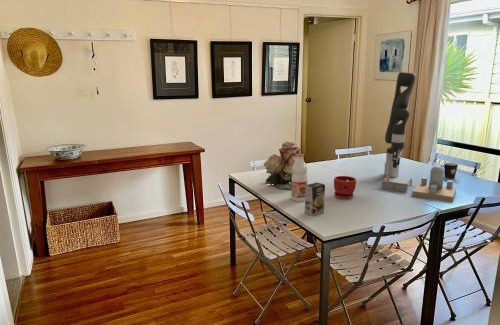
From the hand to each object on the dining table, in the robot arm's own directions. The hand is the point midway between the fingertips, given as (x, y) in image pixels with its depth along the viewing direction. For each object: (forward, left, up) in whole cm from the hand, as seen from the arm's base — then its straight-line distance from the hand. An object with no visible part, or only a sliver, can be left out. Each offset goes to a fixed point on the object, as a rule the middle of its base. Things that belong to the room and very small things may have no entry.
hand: (396, 166), depth 233 cm
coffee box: (-28, -63, -16) cm, 71 cm away
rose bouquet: (-65, -23, -16) cm, 71 cm away
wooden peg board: (+23, +4, -16) cm, 28 cm away
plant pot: (-23, -29, -16) cm, 40 cm away
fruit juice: (-45, -47, -16) cm, 67 cm away
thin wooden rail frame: (0, +8, -16) cm, 18 cm away
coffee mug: (+26, +49, -16) cm, 58 cm away
